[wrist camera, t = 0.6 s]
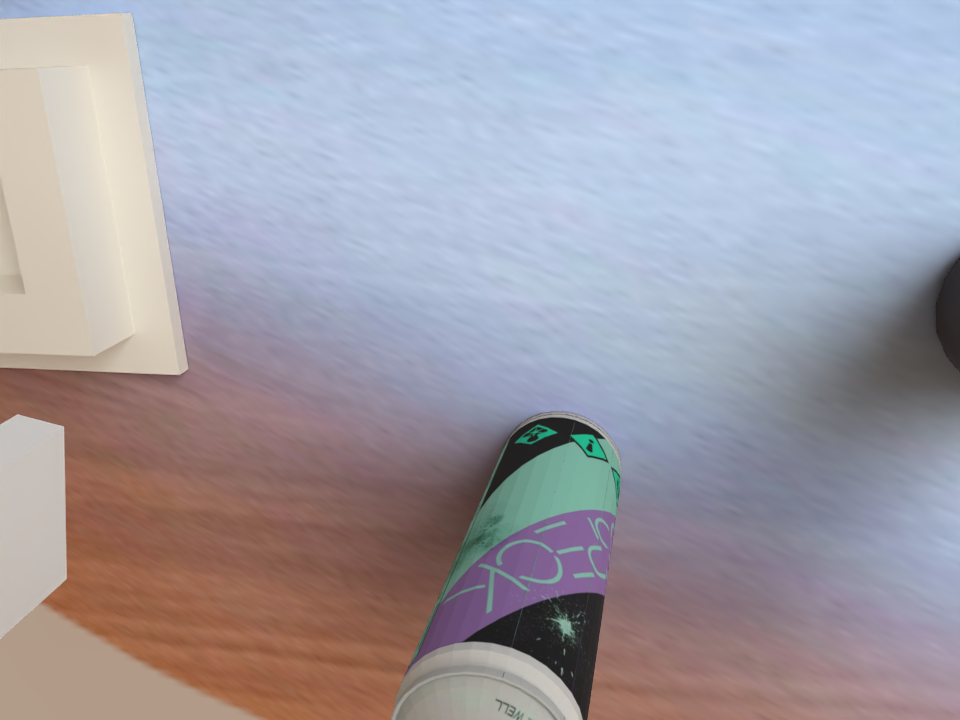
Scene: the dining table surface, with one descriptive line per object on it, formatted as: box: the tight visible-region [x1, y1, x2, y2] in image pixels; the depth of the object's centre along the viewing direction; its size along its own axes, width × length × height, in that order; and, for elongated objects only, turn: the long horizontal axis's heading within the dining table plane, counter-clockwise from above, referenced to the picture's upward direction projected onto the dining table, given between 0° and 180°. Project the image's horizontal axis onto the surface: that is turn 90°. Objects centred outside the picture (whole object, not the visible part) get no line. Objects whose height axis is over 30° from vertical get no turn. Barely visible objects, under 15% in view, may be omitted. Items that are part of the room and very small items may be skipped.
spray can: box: [390, 412, 621, 720], centre depth 32 cm, size 6×6×20 cm
